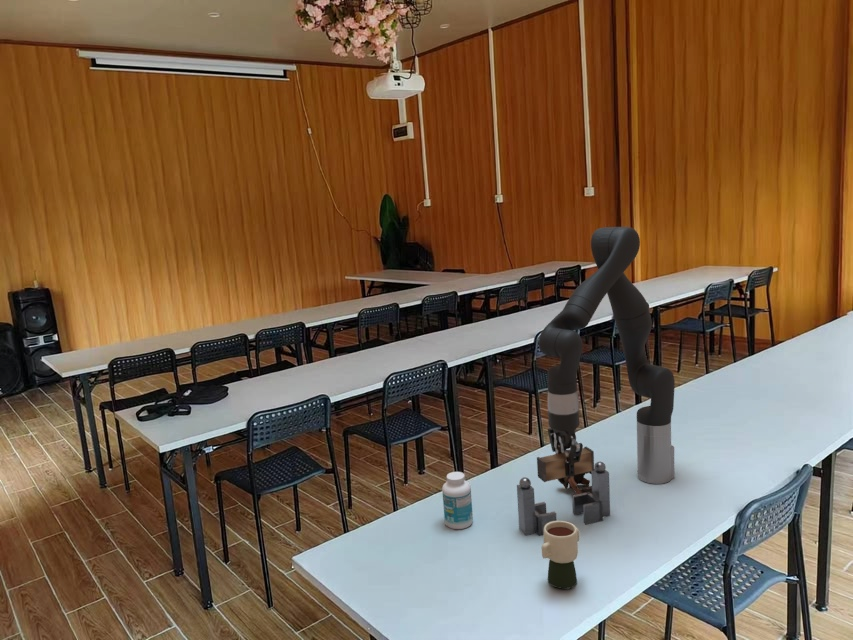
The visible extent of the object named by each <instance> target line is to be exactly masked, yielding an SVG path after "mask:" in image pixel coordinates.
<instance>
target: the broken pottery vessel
mask: <svg viewBox="0 0 853 640" xmlns="http://www.w3.org/2000/svg"><path fill="white" fill-rule="evenodd" d="M587 474H590V475H591V471H589V472H585V473H581V474H576V475H574V476H572V477H564V478H559V479H557V481H558V482H559V483H560V484H561V485H563V487H564V488H565V490H567V489H568V488H569V489H570V488H571V489H572V490H573V491H575V493H574V495H577V494H582V493H586V492H590V493H591V494H592V485H590V482H591V481H590V480H589V479H588V478H585V475H587ZM578 485H583V486H581V488H578Z"/></svg>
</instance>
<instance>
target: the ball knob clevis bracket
mask: <svg viewBox="0 0 853 640" xmlns="http://www.w3.org/2000/svg"><path fill="white" fill-rule="evenodd" d="M606 466H607V465H606V463H604V462H603V461H596V462H595V463H594V471H591V474H590V475H591V476H590V477H591V486H592V494H591V493H590V492H586V493H582V494H577V495H575V494H574V495H571V501H572V502H571V503H572V514H573V515H574V516H576V515H581V514H583V515H582V516H583V517H582V518H583V524H584V525H585V526H587V525H589V524H595V523H599V522H603V521H604V518H605V517H610V516H611V499H610V498H611V497H610V496H611V495H610V494H611V493H610V489H611V488H610V472H609V471H608V470H606V469H607V468H606ZM531 484H532V481H531V480H530V478H528V477H524V476H523V477H522V478H521V479H519V484H517V485H516V493H517V494H516V495H517V496H516V497H517V498H516V499H517V512H518V514H517V515H518V529H519V530H520V532H521V533H522V534H523V535H524V536H526V537H527V536H529V535H535V534H536V535H537V536H538V537H539V536H544V526H545V525H546V524H547V523H549V522H552V521H558V520H557V519H558V518H557V513H556V511H551V512H547V503H546V502H545V501H542V502H538V503H535V502H536V501H535V499H536V498H535V488H534V487H533V486H532V485H531Z"/></svg>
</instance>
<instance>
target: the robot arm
mask: <svg viewBox="0 0 853 640" xmlns="http://www.w3.org/2000/svg"><path fill="white" fill-rule="evenodd" d="M640 245H641V238H640V235H639V233H638V232H637V230H636V229H634V228H632V227H631V226H611V227H610V226H607V227H606V226H605V227H599V228H597V229H596V230H594V231H593V233H592V234H591V239H590V249H591V254H592V257H593V260H594V263H595V265H596V267H597V270H595V272H594V273H592V274H591V275H590V276H588V277H587V278H586V279H585V280H584V281H582V282H581V283H580V284H579V285H578V286H577V287H576V288H575V290H573V292H572V293H571V295H570V296H569V298H568V300H567V302H566V304H565V306H563V308H562V310H561V311H560V312H559V313H557V315H556V316H555V317H553V319H552V320H551V321H550V322H549V323H548V324H546V326H545V327H544V328H543V329H542V331H541V333H540V335H539V339H538V348H539V350H540V352H541V353H542V354H544V356H548V357H553V358H558V359H560V363H559V364H558V365H553V366H551V367H549V368H548V370H547V376H546V377H547V379H546V381H547V382H546V383H547V401H546V402H547V417H548V420H547V421H548V427H549V428H547V433H548V438H549V442H550V447H551V451H552V452H553V453H554V454H559V453H562V454H564V459H565V474H566V476H567V477H572V476H574V475H575V471H574V463H577V462H579V461H580V457H581V452H582V448H584V446H583V443H582V442H580V443H579V442H578V441H577V435H576V430H577V429H578V427H580V403H579V402H580V401H579V393H578V380H577V374H578V369H579V364H580V361H581V356H582V353H583V340H582V338H581V336H580V335H581V334H579V333H578V332H577V330H583V329H585V328H586V327H588V324H589V323H590V321H591V319H592V318H593V316H594V314H595V313H596V311H597V309H598V307H599V306H600V303H602V301H603V299H604V298H605V296H606V295H607V298H608V300H609V303H610V307H611V310H612V316H613V318H614V322H615V326H616V328H617V332H618V335H619V338H620V342H621V343H620V344H621V347H622V350H623V355H624V359H625V366H626V372H627V378H628V382H629V385H630V388H631V390H632V391H633V392H634V393H635V394H637V395H638V396H640V397H641V396H642V397H645V398H649V399H650V404H649V405H647V406H642V407H640V408H639V409H638V410H637V411H636V444H637V445H636V448H637V449H636V450H637V451H636V455H637V459H636V461H637V465H636V466H637V469H636V470H637V478H638V479H639V480H640V481H641V482H644V483H648V484H652V485H654V484H655V485H661V484H666V483H668V482H671V480H672V479H675V477H676V476H675V446H674V445H673V444H672V415H673V412H674V403H675V401H674V399H675V386H676V385H675V384H676V383H675V376H674V373H673V371H672V370H671V369H670V368H668V367H664V366H661V365H655V364H651V363H650V362H649V361H648V357H647V353H646V350H645V349H646V347H645V346H646V343H647V341H648V338H649V337H650V334H651V332H652V331H651V330H652V328H653V326H652V325H653V323H652V322H653V321H652V315H651V312H650V308H649V305H648V302H647V300H646V298H645V297H644V295H643V294H642V292H640V290H639V289H638V288H637V287H636V286H635V285H634V283H632V282H631V280H630V279H629V278H628V277H627V276H626V274H625V271H626V270H627V269H628V267H629V266H630V265H631V264H632V262H633V261H634V260H635V259H636V257H637V255H638V253H639V251H640V247H641V246H640ZM568 454H569V458H568Z"/></svg>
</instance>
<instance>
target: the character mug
mask: <svg viewBox="0 0 853 640" xmlns="http://www.w3.org/2000/svg"><path fill="white" fill-rule="evenodd" d="M579 542H580V530H579V528H577V527H576V525H575V524H573V523H572V522H569V521H566V520H557V521H552V522H549V523H547V524H546V525H545V526H544V535H543V544H541V556H542V559H548V560H549V561H548V570H547V583H548V584H550V586H553V587H555V588H558V589H559V588H560V589H572V588H574V587H575V586H576V585H577V583H578V578H577V571H576V567H575V566H576V565H575V562H574V561H576V560H577V558H578V553H579V548H578V547H579V545H578V543H579Z"/></svg>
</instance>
